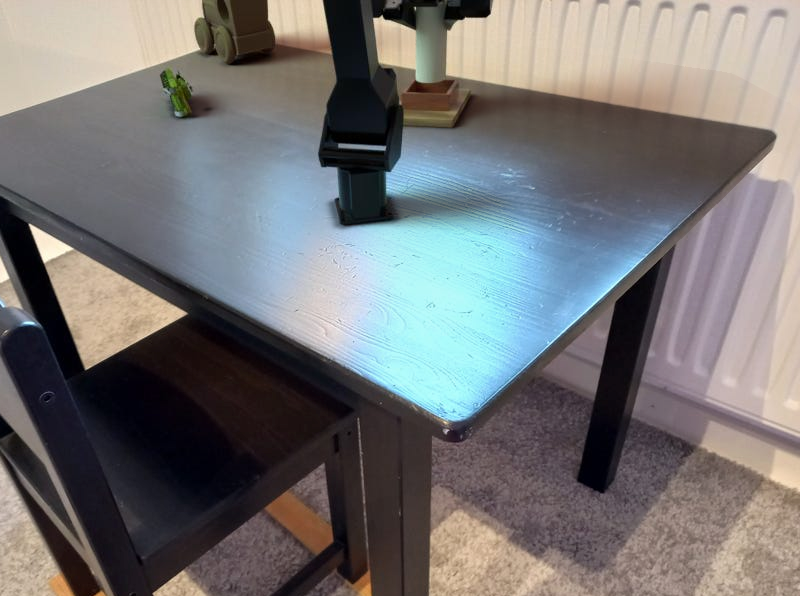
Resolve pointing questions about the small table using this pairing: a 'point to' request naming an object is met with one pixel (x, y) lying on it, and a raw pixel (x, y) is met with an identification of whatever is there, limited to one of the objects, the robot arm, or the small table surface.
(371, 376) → the small table surface
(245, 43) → the wooden toy train
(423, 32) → the post
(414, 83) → the base pad
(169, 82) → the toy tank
